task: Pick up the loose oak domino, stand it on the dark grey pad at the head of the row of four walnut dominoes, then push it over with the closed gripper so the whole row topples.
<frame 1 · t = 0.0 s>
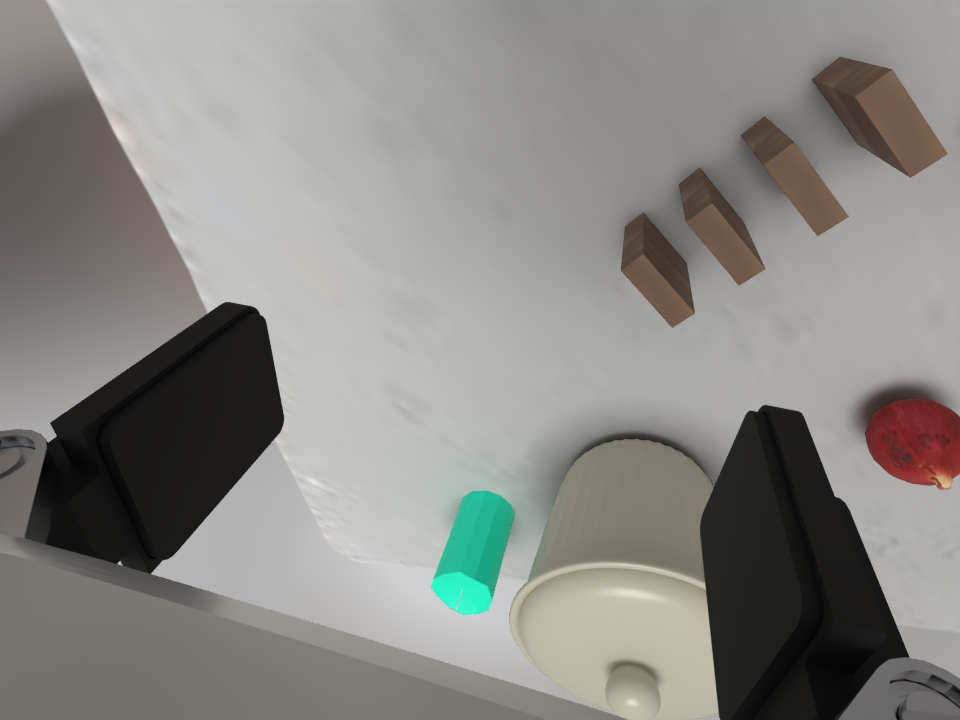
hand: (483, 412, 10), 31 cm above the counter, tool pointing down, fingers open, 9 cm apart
domino 2: (775, 156, 34), on the counter
domino 3: (711, 203, 37), on the counter
canister: (636, 481, 52), on the counter
domino 4: (655, 245, 39), on the counter
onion: (895, 407, 41), on the counter
domino 1: (849, 102, 32), on the counter
candle: (488, 509, 59), on the counter
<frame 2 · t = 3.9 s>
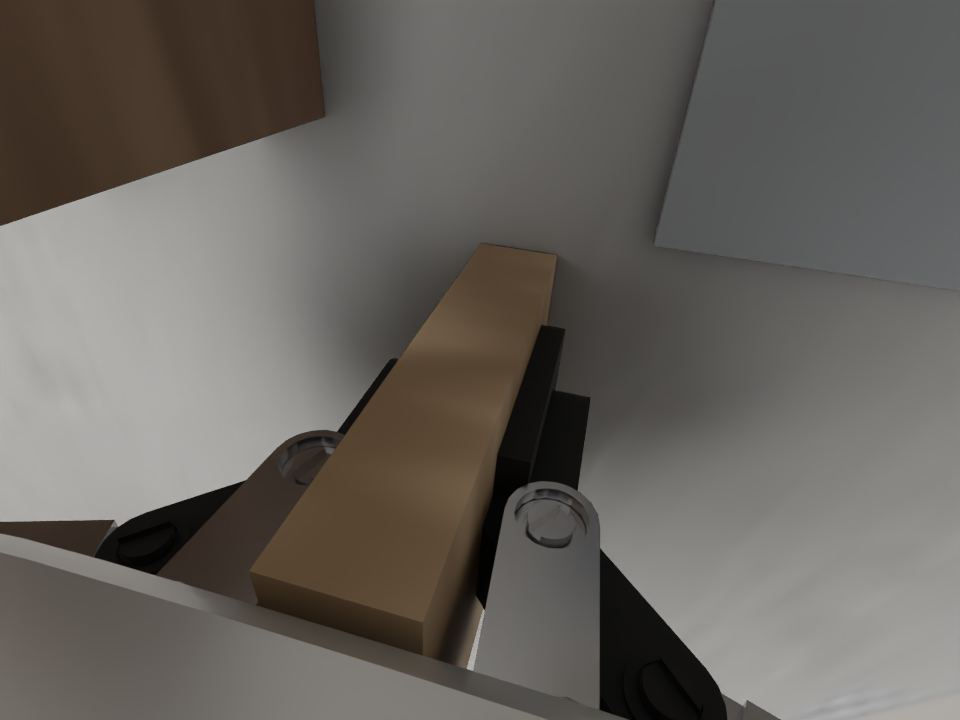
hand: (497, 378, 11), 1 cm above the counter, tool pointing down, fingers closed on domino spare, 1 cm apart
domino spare: (507, 350, 12), on the counter, touching gripper
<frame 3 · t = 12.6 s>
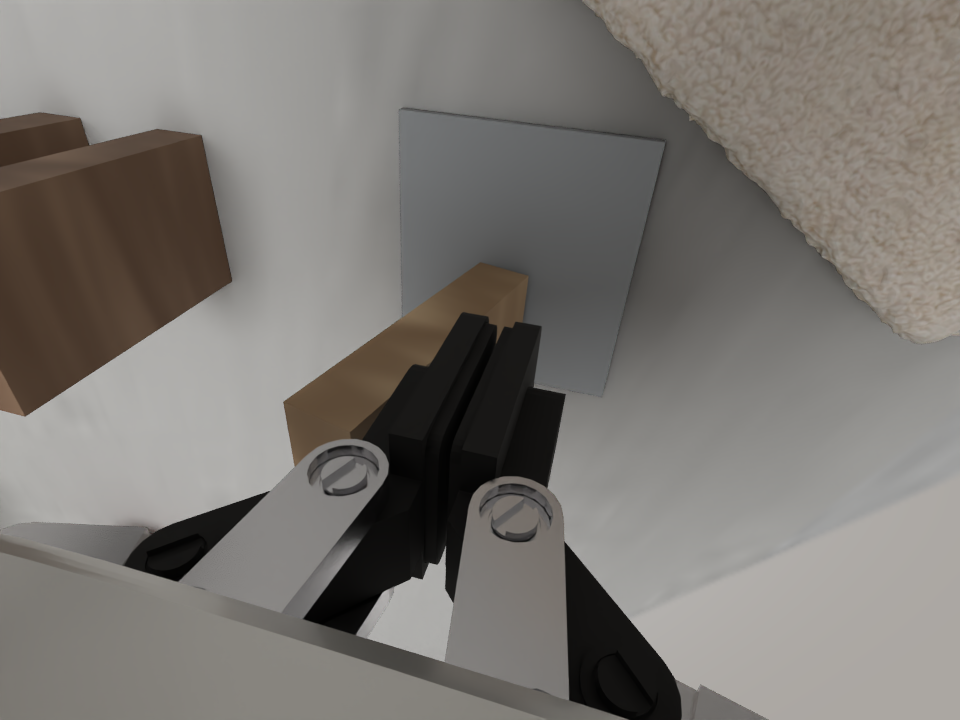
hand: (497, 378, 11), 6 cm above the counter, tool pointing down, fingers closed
domino 2: (85, 191, 19), on the counter
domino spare: (496, 340, 17), resting on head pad, tilted 14°
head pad: (512, 264, 16), on the counter
domino 1: (197, 210, 18), on the counter
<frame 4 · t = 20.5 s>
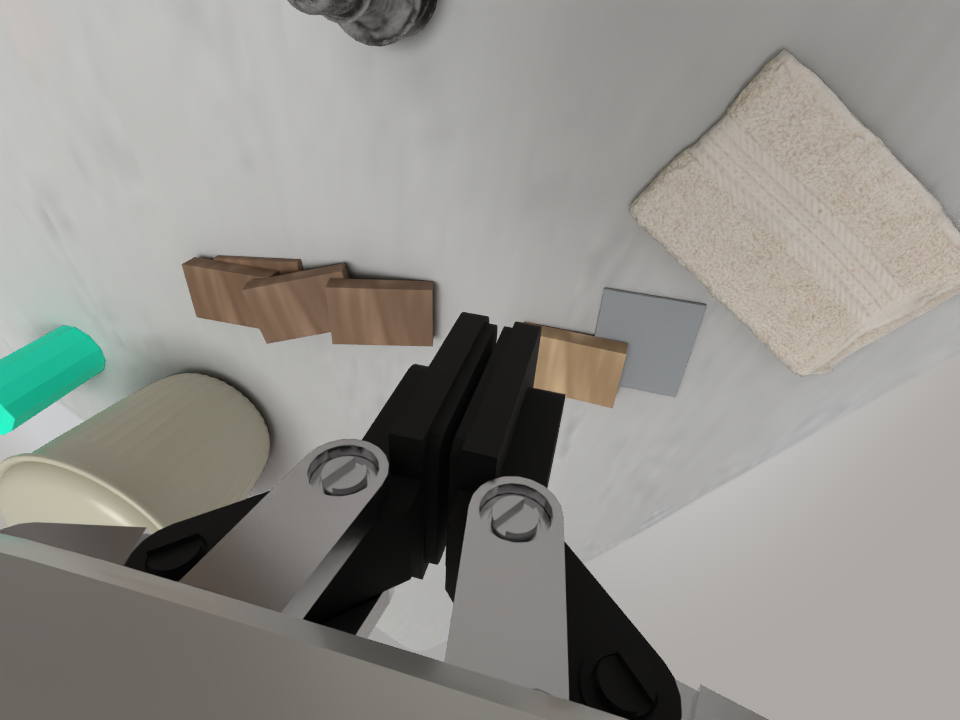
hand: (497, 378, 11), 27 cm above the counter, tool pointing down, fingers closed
domino 2: (352, 295, 43), point 1 cm above the counter, tilted 72°, touching domino 3
domino 3: (278, 301, 45), point 1 cm above the counter, tilted 90°, touching domino 2, domino 4
canister: (223, 415, 57), on the counter
domino 4: (308, 286, 45), on the counter, tilted 90°, touching domino 3
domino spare: (620, 376, 41), point 1 cm above the counter, tilted 93°, touching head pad
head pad: (641, 343, 40), on the counter
washcloth: (791, 228, 34), on the counter
domino 1: (432, 314, 43), point 1 cm above the counter, tilted 74°
candle: (81, 349, 57), on the counter
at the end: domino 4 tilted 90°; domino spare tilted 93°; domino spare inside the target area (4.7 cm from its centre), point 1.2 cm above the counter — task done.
